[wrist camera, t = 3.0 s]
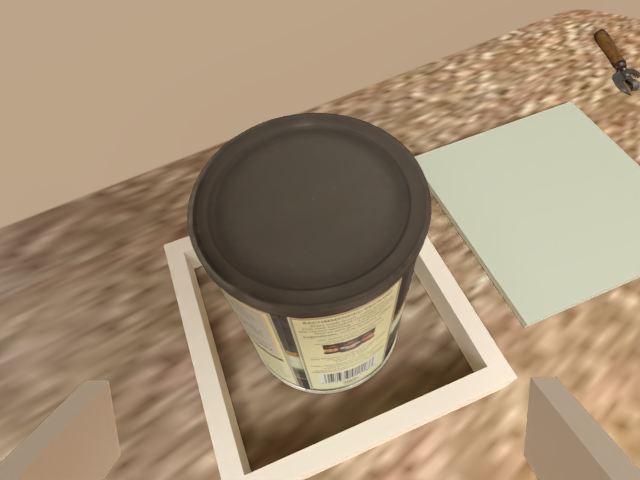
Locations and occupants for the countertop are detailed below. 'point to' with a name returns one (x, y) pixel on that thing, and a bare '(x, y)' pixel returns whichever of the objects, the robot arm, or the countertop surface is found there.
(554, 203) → the mat
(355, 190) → the coffee can
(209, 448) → the countertop surface
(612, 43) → the can opener
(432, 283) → the holder frame
